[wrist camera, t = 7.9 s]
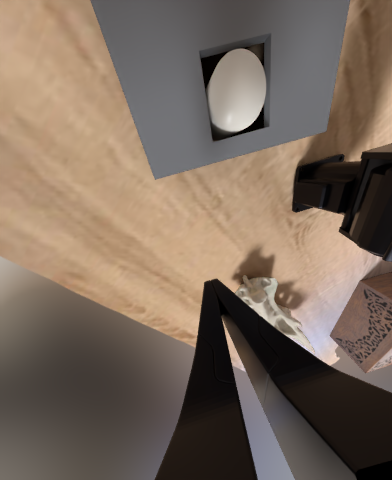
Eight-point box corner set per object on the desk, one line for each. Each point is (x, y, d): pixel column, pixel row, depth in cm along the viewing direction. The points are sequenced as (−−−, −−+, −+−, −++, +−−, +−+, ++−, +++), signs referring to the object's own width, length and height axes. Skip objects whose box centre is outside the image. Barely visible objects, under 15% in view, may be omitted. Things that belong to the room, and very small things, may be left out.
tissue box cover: (358, 280, 34) (423, 318, 26) (408, 265, 35) (486, 297, 27) (328, 334, 47) (365, 373, 38) (366, 323, 48) (410, 357, 39)
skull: (263, 375, 32) (229, 327, 20) (247, 337, 39) (214, 285, 27) (315, 355, 31) (313, 291, 18) (289, 320, 38) (275, 256, 25)
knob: (237, 79, 13) (266, 41, 9) (241, 134, 15) (265, 123, 11) (193, 90, 13) (204, 57, 9) (203, 145, 15) (215, 137, 11)
